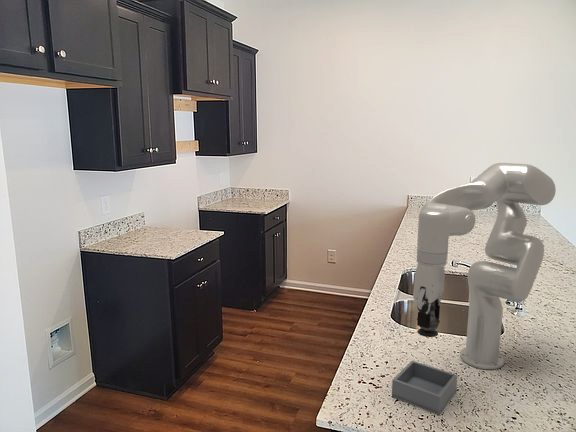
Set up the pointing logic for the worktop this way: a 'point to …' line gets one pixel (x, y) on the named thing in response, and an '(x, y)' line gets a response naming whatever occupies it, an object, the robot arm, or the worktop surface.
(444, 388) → the bin
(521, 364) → the worktop surface
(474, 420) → the worktop surface
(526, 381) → the worktop surface
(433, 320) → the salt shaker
